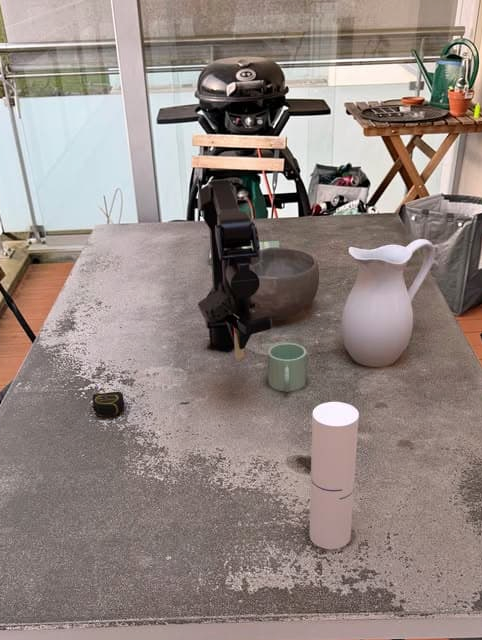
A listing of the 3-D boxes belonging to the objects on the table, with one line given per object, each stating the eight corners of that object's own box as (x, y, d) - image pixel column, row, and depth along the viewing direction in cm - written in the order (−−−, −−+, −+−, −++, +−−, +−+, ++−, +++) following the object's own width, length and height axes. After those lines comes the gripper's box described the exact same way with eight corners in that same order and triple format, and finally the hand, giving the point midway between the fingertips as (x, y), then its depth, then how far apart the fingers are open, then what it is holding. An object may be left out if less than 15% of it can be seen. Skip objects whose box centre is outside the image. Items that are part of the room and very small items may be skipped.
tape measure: (124, 402, 167) (122, 388, 165) (125, 418, 161) (123, 403, 159) (93, 405, 166) (91, 391, 164) (94, 421, 160) (91, 407, 158)
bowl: (218, 323, 200) (215, 270, 192) (251, 290, 218) (250, 241, 210) (302, 336, 192) (303, 281, 184) (329, 300, 211) (331, 249, 202)
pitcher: (365, 379, 172) (374, 265, 157) (326, 351, 185) (331, 242, 169) (445, 355, 181) (461, 245, 165) (403, 330, 194) (414, 225, 178)
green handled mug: (268, 372, 176) (268, 342, 172) (305, 373, 176) (306, 342, 171) (267, 398, 167) (266, 367, 162) (306, 398, 166) (306, 367, 162)
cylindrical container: (306, 523, 131) (309, 403, 116) (346, 520, 131) (353, 400, 117) (312, 550, 125) (316, 427, 110) (354, 547, 125) (363, 424, 111)
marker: (233, 358, 161) (231, 325, 157) (237, 354, 163) (235, 321, 158) (242, 359, 161) (240, 326, 156) (245, 355, 162) (244, 322, 158)
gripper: (182, 272, 155) (187, 339, 164) (223, 302, 142) (227, 373, 151) (228, 262, 160) (231, 327, 168) (272, 290, 146) (273, 360, 155)
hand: (239, 346), depth 160 cm, fingers closed on marker, 2 cm apart
